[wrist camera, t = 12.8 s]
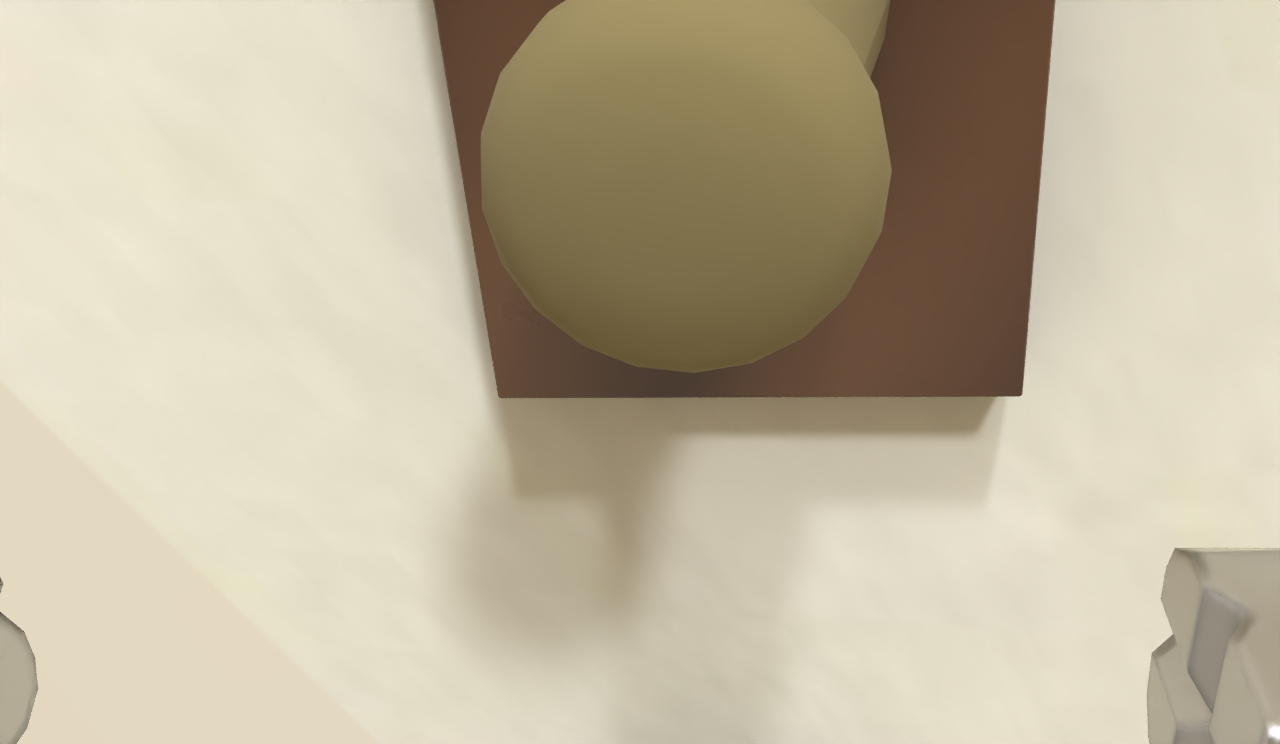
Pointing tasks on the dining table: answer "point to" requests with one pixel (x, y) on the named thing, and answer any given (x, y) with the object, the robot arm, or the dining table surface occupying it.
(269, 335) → the dining table surface
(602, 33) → the cork
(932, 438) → the dining table surface
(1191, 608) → the robot arm
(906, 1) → the serving board
